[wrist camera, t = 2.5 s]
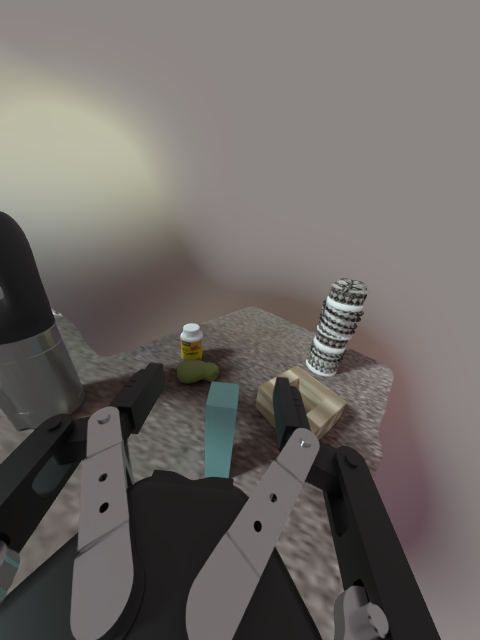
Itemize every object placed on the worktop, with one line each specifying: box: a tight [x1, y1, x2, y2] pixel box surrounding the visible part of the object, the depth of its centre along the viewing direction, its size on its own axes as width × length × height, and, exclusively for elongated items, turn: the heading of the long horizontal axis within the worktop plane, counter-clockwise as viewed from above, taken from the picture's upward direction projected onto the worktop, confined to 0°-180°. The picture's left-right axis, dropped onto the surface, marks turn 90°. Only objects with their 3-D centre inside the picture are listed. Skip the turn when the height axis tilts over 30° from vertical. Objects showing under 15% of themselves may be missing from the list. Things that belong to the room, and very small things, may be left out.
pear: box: [177, 359, 219, 383], centre depth 45 cm, size 6×5×10 cm
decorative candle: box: [306, 279, 370, 377], centre depth 49 cm, size 9×9×25 cm
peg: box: [205, 381, 239, 478], centre depth 27 cm, size 4×4×16 cm
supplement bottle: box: [181, 324, 203, 361], centre depth 50 cm, size 6×6×10 cm
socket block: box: [255, 366, 347, 440], centre depth 38 cm, size 12×12×6 cm
